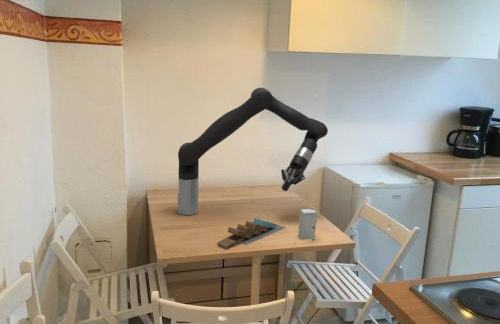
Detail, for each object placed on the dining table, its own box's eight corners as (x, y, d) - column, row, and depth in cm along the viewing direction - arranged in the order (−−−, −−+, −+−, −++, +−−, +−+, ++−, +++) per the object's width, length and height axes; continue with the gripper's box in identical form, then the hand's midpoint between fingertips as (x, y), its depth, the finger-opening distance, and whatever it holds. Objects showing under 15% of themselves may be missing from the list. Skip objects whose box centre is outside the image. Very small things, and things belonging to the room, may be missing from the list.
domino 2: (244, 230, 177) (228, 226, 169) (253, 234, 174) (238, 230, 166) (242, 235, 177) (227, 231, 169) (251, 238, 173) (236, 235, 166)
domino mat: (268, 222, 193) (268, 221, 193) (285, 228, 186) (285, 227, 186) (227, 238, 174) (228, 237, 174) (245, 246, 168) (245, 245, 167)
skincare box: (301, 240, 175) (303, 213, 172) (297, 236, 179) (299, 209, 176) (315, 239, 176) (317, 212, 173) (311, 235, 180) (313, 208, 177)
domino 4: (260, 224, 184) (246, 220, 177) (269, 227, 181) (255, 224, 174) (258, 228, 184) (244, 225, 177) (267, 231, 181) (253, 228, 173)
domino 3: (252, 227, 181) (238, 224, 173) (261, 230, 178) (247, 227, 170) (251, 231, 181) (236, 228, 173) (260, 235, 177) (245, 232, 170)
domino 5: (267, 221, 188) (254, 217, 181) (276, 224, 185) (263, 221, 177) (266, 225, 188) (252, 222, 180) (275, 228, 185) (261, 225, 177)
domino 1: (235, 233, 173) (217, 241, 166) (244, 237, 170) (226, 245, 163) (235, 237, 173) (217, 246, 166) (244, 241, 170) (226, 250, 163)
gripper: (286, 152, 196) (269, 182, 190) (310, 156, 188) (292, 188, 182) (293, 161, 201) (275, 191, 195) (316, 166, 193) (299, 197, 187)
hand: (284, 190), depth 189 cm, fingers closed
